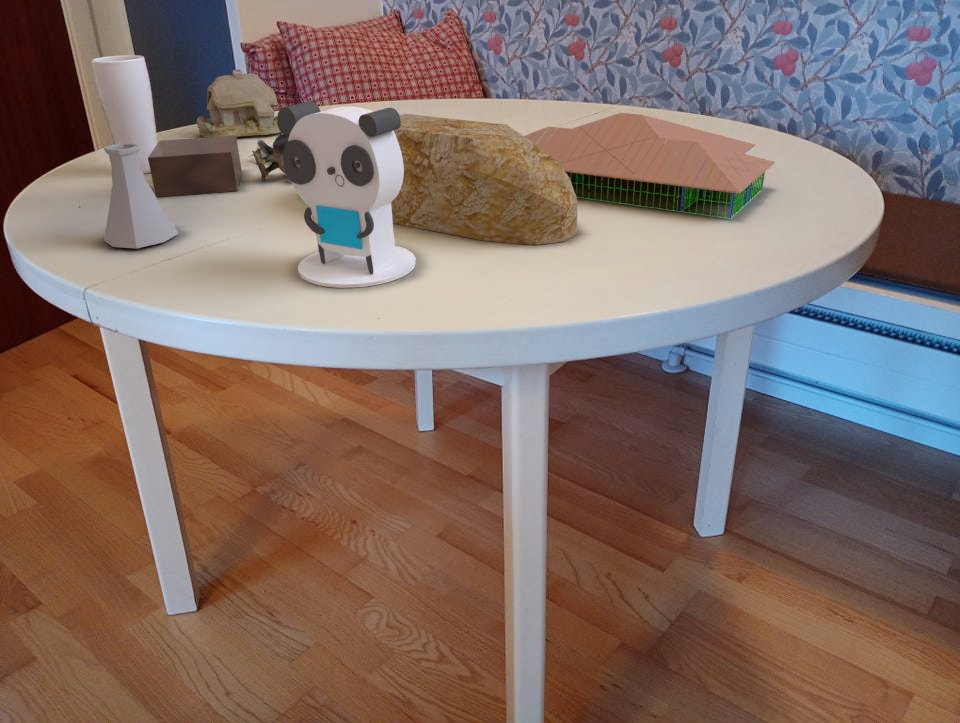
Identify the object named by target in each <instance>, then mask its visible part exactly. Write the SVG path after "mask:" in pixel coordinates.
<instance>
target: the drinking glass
mask: <svg viewBox="0 0 960 723" xmlns="http://www.w3.org/2000/svg"><path fill="white" fill-rule="evenodd" d="M91 67H92V73H93V79H94V82H95V87H96V91H97V95H98V98H99V100H100V103H101V107H102V110H103V113H104V117H105V119H106V123H107V126H108V128H109V132H110V135H111V138H112V141H113V145H115V144H121V143H135V144H137V145H139V151H138V158H139V162H140V166H141V168H142V171H143V173H144V175H145V174H151V171H150V166H149V161H148V157H149V155H150V154H151V152H152V151H153V149H154V148H155V147H156V145H157V144H158V142H159V141H158V135H157V126H156V119H155V110H154V100H153V92H152V86H151V80H150V75H149V70H148V67H147V63H146V59H145V56H144V55H139V54H125V55H124V54H123V55H111V56H110V55H109V56H102V57H97V58H92V59H91Z"/></svg>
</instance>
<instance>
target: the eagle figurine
mask: <svg viewBox="0 0 960 723" xmlns="http://www.w3.org/2000/svg"><path fill="white" fill-rule="evenodd" d="M276 137H277V138H276ZM276 137H275V138H276V140H275V139H274V141H273V142H272V143H273V148H272V147H270V146H269V145H267V144H266V143H267V142H265V141H264V140H262V139H260V140H258V141H257V143H256V144H257V145H258V146H259V147H260V148H259V149H257V148H256V149H255V150H252V154H254V156H253V157H254V160H255V164H256V166H257V167H258V170H259V172H260V175H261V176H260V180H261V181H262V182H263V181H265V180H266V179H267V177H268V176H269V174H270V173H272V171H275V170H276V169H279V170H280V171H281V172H282V173H283V174H284V175H285V176H286V174H285V170H284V164H283V153H284V147H285V144H286V142H288V139H289V135H284V134H279V135H278V136H276ZM260 149H261V150H260ZM261 151H263V152H264V153H265V154H266V155H267V157H263V158H262V155H261ZM270 162H271V163H270ZM267 163H269V165H268V166H267V167H266V166H265V164H267ZM289 182H290V184H292V182H291V181H290V180H289Z"/></svg>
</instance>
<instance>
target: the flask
mask: <svg viewBox="0 0 960 723" xmlns="http://www.w3.org/2000/svg"><path fill="white" fill-rule="evenodd" d="M103 150H104V152H105V154H107V155H108V157H109V163H110V167H111V191H110V200H109V208H108V212H107V213H108V214H107V218H106V226H105V231H104V238H103V241H104V242H106V243H107V245H110V246H111V247H112V248H121V249H124V248H125V249H141V248H144V247H150V246H155V245H157V244H162V243H165V242H167V241H168V240H171V239H173V238H174V237H175V236H178V235H179V234H180V233H179V230H177V228H176V226H175V224H174V223H173V221H172V220H171V219H170V217H169V216H168V214H167V213H166V212H167V211H165V209H164V207H163V206H162V204H161V203H160V201H159V200H158V197H156V195H155V192H154V190H152V188H151V186H150V184H149V183H148V181H147V179H146V178H147V177H146V176H145V174H144V173H143V171H142V168H141V166H140V162H139V158H138V151H139V145H137V144H135V143H121V144H115V145H114V144H111V145H108V146H105V147H103Z"/></svg>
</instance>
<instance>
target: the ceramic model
mask: <svg viewBox="0 0 960 723" xmlns="http://www.w3.org/2000/svg"><path fill="white" fill-rule="evenodd" d="M277 105H278V100H277V96H276V92H275V91H274V89H273V88H272V87H271V86H269V85H268V84H267V83H265V82H264V81H263V80H262V79H261V77H259V75H258V74H256V73H254V72H249V73H247V72H246V73H243V71H242V70H241V69H239V68H238V69H233V70H232V74H225V75H220V76H216V77H215V80H214V81H213V82H212V83H211V84H210V85H208V88H207V89H206V110H207V111H209V118H206V117H204V115H203V116H202V115H200V116H198V117H197V118H196V126H197V129H198V131H199V134H200V136H201V137H202V138H207V137H222V136H236V138H238V137H249V136H250V137H251V136H265V135H273V134H279V133H281V131H280V130H279V128H278V125H277V115H276V116H275V107H276V106H277Z"/></svg>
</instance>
